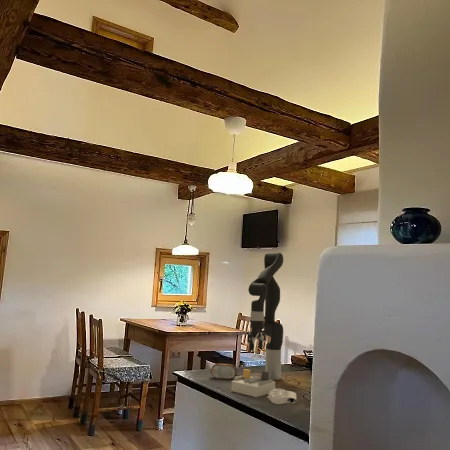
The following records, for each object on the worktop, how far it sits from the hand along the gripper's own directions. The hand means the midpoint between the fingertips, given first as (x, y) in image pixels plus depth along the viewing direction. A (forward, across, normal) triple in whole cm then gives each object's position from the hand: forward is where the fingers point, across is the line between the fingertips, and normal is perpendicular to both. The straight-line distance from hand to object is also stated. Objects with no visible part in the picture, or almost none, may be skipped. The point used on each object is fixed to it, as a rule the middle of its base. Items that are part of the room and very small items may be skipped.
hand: (256, 349), depth 246 cm
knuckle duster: (+21, +10, +23) cm, 33 cm away
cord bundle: (+20, -4, +4) cm, 21 cm away
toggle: (+15, +4, +9) cm, 18 cm away
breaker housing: (+20, +8, +5) cm, 22 cm away
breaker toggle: (+15, +8, 0) cm, 17 cm away
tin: (+20, -3, -24) cm, 32 cm away
